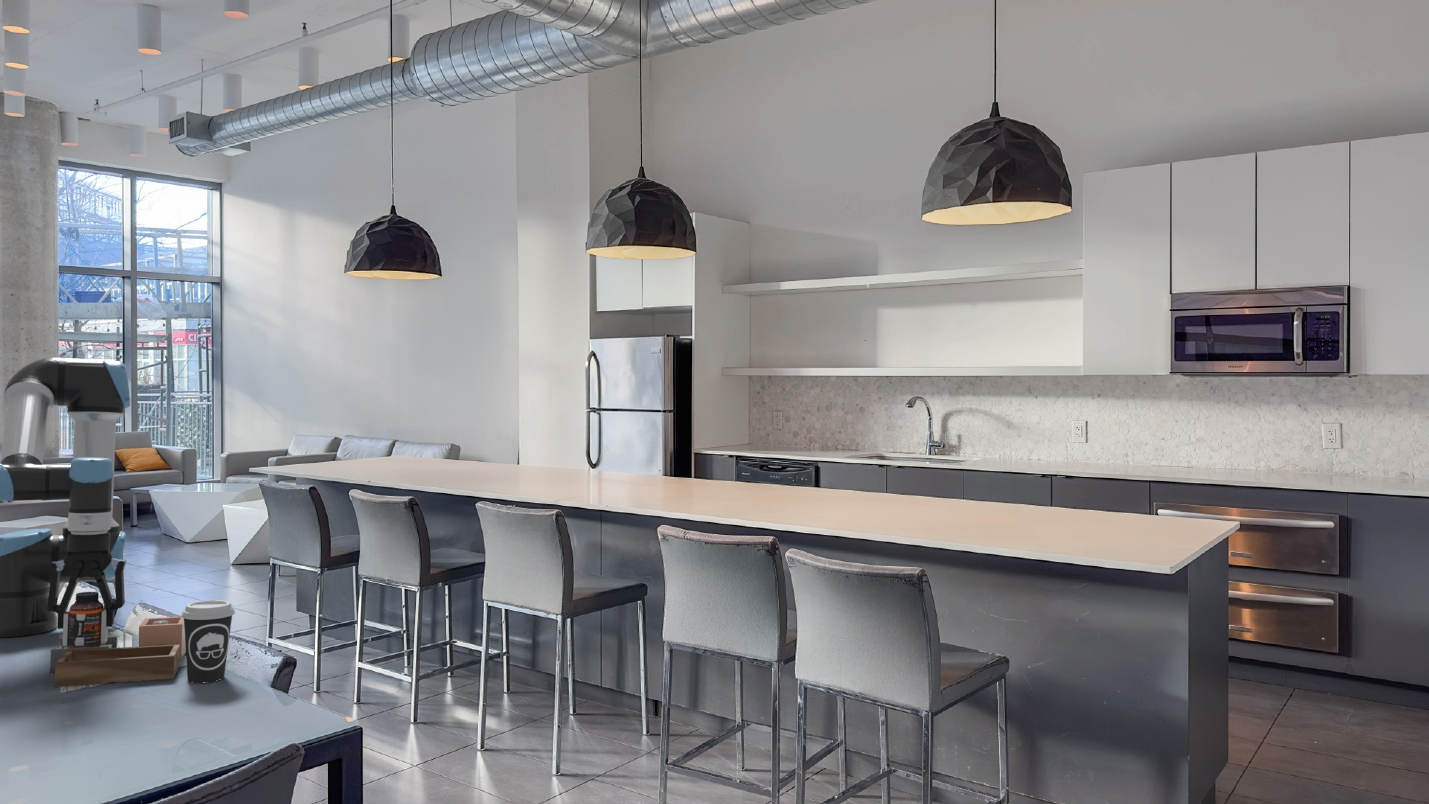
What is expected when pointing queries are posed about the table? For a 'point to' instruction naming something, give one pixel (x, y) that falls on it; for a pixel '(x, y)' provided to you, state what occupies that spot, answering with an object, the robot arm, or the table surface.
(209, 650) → the coffee cup
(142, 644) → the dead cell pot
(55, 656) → the cradle base
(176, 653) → the trough
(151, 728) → the table surface
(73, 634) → the supplement bottle
